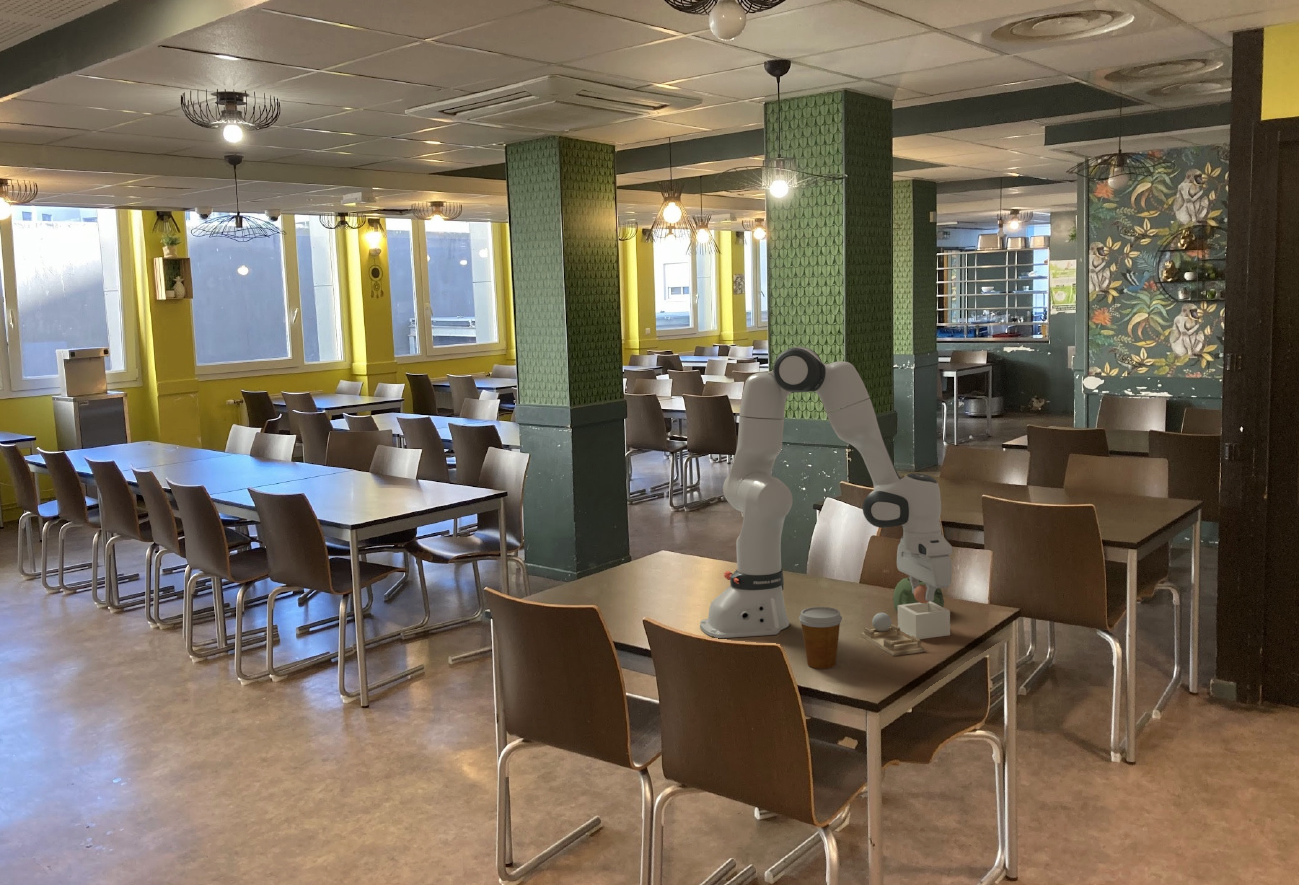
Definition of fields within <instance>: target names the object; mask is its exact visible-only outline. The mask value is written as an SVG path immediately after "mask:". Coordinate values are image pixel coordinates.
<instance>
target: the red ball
mask: <svg viewBox="0 0 1299 885" xmlns="http://www.w3.org/2000/svg"><path fill="white" fill-rule="evenodd" d="M926 591H927V587H926V585H919V586H917V587H916V588H915V590H914V597H915V599H916V600H917V601H918V602H919V603H928V602H930V601H927V600H925V599H924V593H926Z"/></svg>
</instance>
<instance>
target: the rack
mask: <svg viewBox="0 0 1299 885" xmlns="http://www.w3.org/2000/svg"><path fill="white" fill-rule="evenodd" d="M860 635H861V637H862V638H864V639H866V640H867V641H868V642H870V643H871V644H873V645H874V646H876V647H878V648H879V649H881V650H883V651H884V652H885V653H887V654H889V655H890V656H892V657H895V656H902V655H909V654H910V655H911V654H917V653H925V652H926V651H925V647H923V646H922V639H918V638H916V637H915V636H909V638H908V637H906V636H905V635H903V634H901V631H900V628H899V627H898V625H896V624H894V623H892V624H891V627H890V628H889V629H888V630H887V631H884V632H881V631H878V630H876V629H875V628H869V627H864V629H863V632H861V634H860Z"/></svg>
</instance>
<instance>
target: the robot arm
mask: <svg viewBox="0 0 1299 885" xmlns="http://www.w3.org/2000/svg"><path fill="white" fill-rule="evenodd" d="M808 392H810V393H811V392H814V393H815V394H817V396H819V399H820V401H821V403H822V405H823V408H824V410H825V414H826V416H827V419H828V422H829V424H830V426H831V428H832V429H833V431H834V433H835V434H836V436H837V437H838V439H839V440H841V441H843V442H844V443H847V444H850V446H852V447H854V448H855V449H856V450H857V451H858V452H859V454H860V456H861V457H862V459H863V461H864V464H865V466H866V469H867V471H868V473H869V475H870V478H871V481H872V484H873V490H872V491H871V492H870V493H868V494H867V496H866V497H865V498H864V500H863V503H862V514H863V515H864V518H865V520H866V521H867V522H868V523H869V524H870V525H872V526H873V527H876V528H882V529H883V528H885V529H886V528H892V527H893V528H894V527H899V526H902V530H903V531H902V532H903V535H902V536H901V538H900V540H899V543H898V545H897V551H896V552H897V553H896V567H897V569H898V571H899V572H901V573H904V574H905V575H907V576H908V577H909V580H910V583H911V586H912V593H913V594H914V590H915V588H916V587H917V586H919V585H920V584H919V580H920V581H922V582H924V583H926V587H927V591H926V593H924V599H925V600H927V601H933V600H934V593H935V591H936V588H940V589H945V588H946V589H947V588H949V587H950V586H951V583H952V573H953V572H952V559H951V556H950V555H952V554H953V547H952V546H953V545H951V544H950V543H949V541H948V540H947V539H946V538H945V537H944V535H943V534H942V526H941V523H940V522H941V521H940V519H941V518H940V517H941V514H942V500H941V490H940V485H939V483H938V481H937V479H935V478H934V477H932V476H931V475H928V474H924V473H914V472H913V473H908V474H906V475H905V476H904V477H902V478H901V477H900V475H899V473H898V471H897V469H896V467H895V465H894V463H893V460H892V458H891V457H892V456H891V455H890V453H889V451H888V449H887V446H886V443H885V441H884V439H883V437H882V434H881V430H880V427H879V424H878V420H877V416H876V413H875V409H874V406H873V403H872V400H871V398H870V395H869V392H868V389H867V388H866V385H865V383H864V381H863V380H862V378H861V375H860V374H859V373H858V371H857V369H856V368H855V366H854V364H852V363H850V362H848V361H843V360H840V361H839V360H837V361H833V362H830V363H824V362H823V361H822V359H821V357H820V355H818V353H817V352H816V351H814V350H813V349H810V348H808V347H806V346H793V347H790V348H787V349H785V350H783V351H782V352H781V353H779V354H778V355H777V357H776V359H775V361H774V363H773V367H772V370H771V371H765V372H764V371H760V372H756V373H753V374H751V375H750V376H748V377H747V378H746V380H745V382H744V386H743V390H742V395H741V402H740V406H739V418H738V419H739V420H738V433H737V434H738V435H737V443H736V450H735V455H734V458H733V462H732V465H731V468H730V472H729V474H728V475H727V477H725V479H724V482H723V485H722V493H723V496H724V499H725V500H726V501H727V502H728V504H729V505H730V506H731V507H732V508H733V509H734V510H736V511H739V512H741V513H742V516H743V520H742V524H741V525H742V526H741V530H740V533H739V535H738V537H737V538H736V541H735V542H736V543H735V544H736V545H735V546H736V547H735V548H736V568H737V569H736V570H735V571H734V572H731V571H729V570H725V572H724V573H723V578H725V579H726V580H728V581H730V586H728V587H727V588H726V589H725V590H724V591H722V592H721V593H720V594H719V595H718V596H717V597H715V598H714V599H713V600H712V601H711V602H710V605H709V610H708V616H707V618H705V619H702V620H701V621H700V623H699V624H700V625H699V627H700V630H701V631H702V632H704V633H705V634H706V635H707V636H710V637H712V636H714V637H713V638H717V639H726V638H727V639H728V638H739V637H740V638H743V637H744V638H745V637H757V636H759V637H760V636H761V637H762V636H773V635H778V634H779V633H780V632H781V631H782V630H784V629H786V628H788V627H789V626H790V621H789V617H788V614H787V611H786V606H785V600H784V592H783V591H784V584H785V578H784V570H783V568H782V556H781V555H782V553H781V552H782V551H781V544H782V543H781V541H782V535H783V534H782V533H783V528H784V523H785V519H786V516H787V515H788V514H789V513H790V510H792V507H793V502H794V501H793V499H794V498H793V494H792V491H791V490H790V488H789V486H787V484H785V483H784V482H783V481H782V480H781V479H779V478H777V477H775V476H772V473H773V472H772V471H773V468H774V465H775V462H776V459H777V457H778V455H780V454H781V452H782V451H783V450H782V449H783V439H784V438H783V437H784V424H785V408H786V401H787V399H788V397H789V396H790V394H793V393H808Z"/></svg>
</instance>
